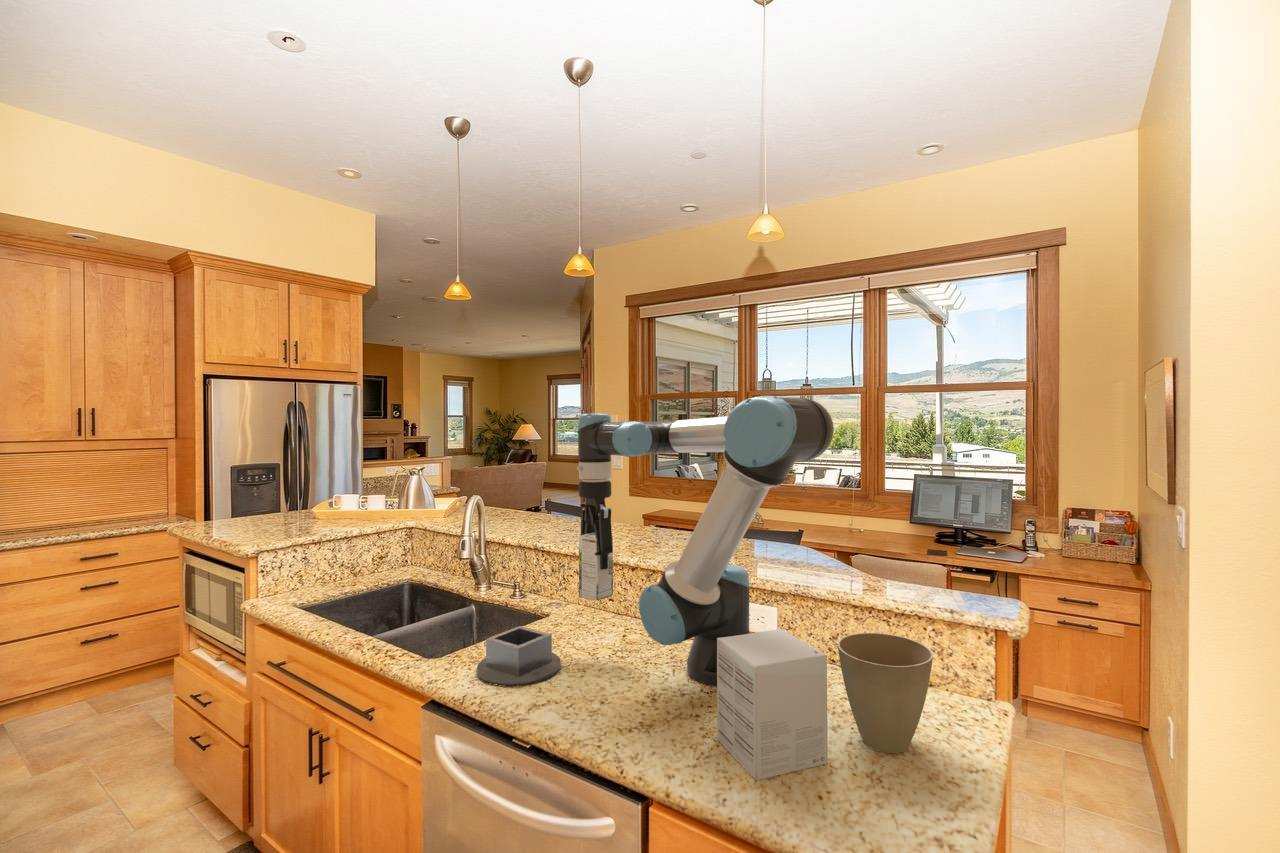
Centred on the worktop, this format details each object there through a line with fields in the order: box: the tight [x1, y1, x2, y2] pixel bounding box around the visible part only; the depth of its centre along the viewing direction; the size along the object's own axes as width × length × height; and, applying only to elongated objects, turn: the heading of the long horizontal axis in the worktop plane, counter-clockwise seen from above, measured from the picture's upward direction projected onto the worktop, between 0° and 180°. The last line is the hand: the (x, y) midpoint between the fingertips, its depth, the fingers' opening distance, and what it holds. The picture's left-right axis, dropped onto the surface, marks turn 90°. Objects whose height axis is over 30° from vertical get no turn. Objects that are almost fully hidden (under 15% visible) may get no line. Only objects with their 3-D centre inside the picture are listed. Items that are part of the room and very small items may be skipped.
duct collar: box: [476, 625, 562, 687], centre depth 134 cm, size 18×18×7 cm
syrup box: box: [578, 533, 614, 602], centre depth 141 cm, size 6×6×14 cm
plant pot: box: [837, 632, 934, 754], centre depth 102 cm, size 15×15×16 cm
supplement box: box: [716, 628, 829, 781], centre depth 100 cm, size 13×13×18 cm
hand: (596, 578), depth 141 cm, fingers closed on syrup box, 7 cm apart
